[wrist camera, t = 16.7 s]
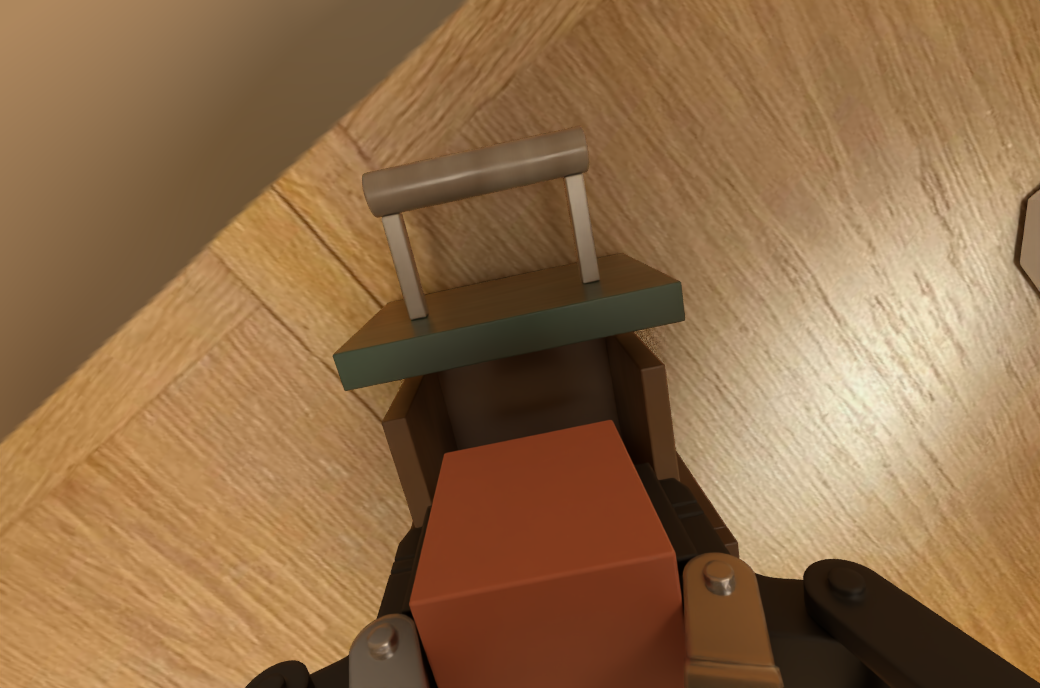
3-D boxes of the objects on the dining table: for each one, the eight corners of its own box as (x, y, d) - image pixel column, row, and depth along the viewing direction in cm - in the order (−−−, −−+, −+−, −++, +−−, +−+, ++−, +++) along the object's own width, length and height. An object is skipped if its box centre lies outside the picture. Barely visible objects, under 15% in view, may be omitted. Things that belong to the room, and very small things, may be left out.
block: (482, 588, 14) (470, 788, 9) (442, 452, 13) (406, 604, 8) (635, 558, 14) (703, 745, 9) (612, 418, 13) (676, 553, 8)
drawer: (353, 186, 20) (273, 183, 13) (605, 131, 20) (661, 97, 13) (456, 537, 25) (438, 670, 18) (658, 498, 25) (718, 617, 18)
